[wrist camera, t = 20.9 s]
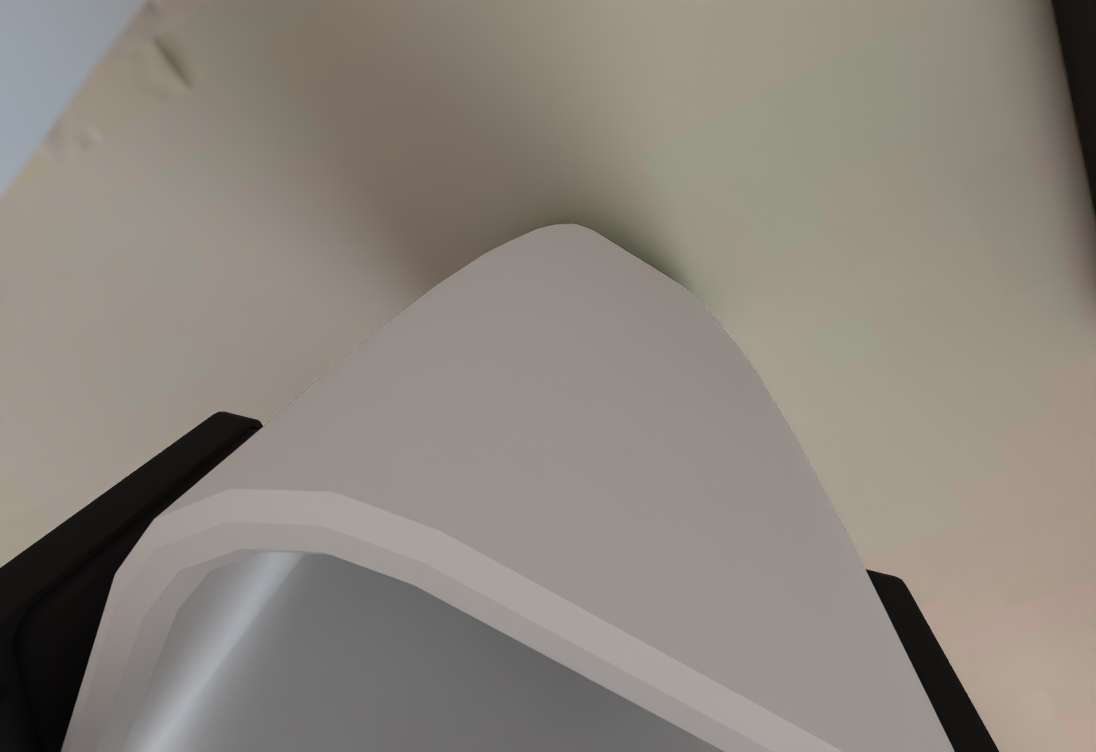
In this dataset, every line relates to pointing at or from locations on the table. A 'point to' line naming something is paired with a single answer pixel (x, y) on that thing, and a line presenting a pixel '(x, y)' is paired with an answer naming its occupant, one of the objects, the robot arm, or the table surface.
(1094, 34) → the bracket
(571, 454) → the cup
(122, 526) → the robot arm
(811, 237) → the table surface
